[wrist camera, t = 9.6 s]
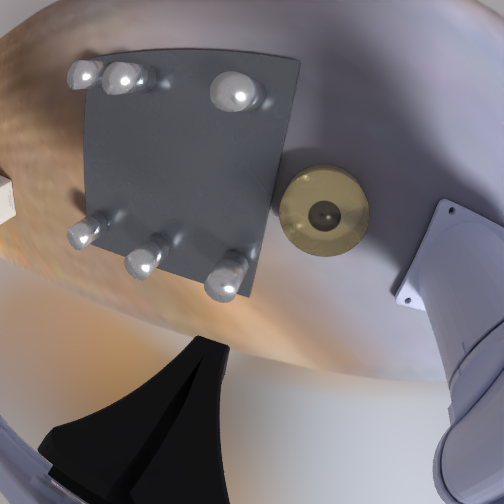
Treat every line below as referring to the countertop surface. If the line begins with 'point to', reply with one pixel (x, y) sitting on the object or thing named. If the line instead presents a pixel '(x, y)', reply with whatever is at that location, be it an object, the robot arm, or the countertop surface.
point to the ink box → (6, 200)
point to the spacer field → (183, 160)
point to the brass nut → (324, 211)
